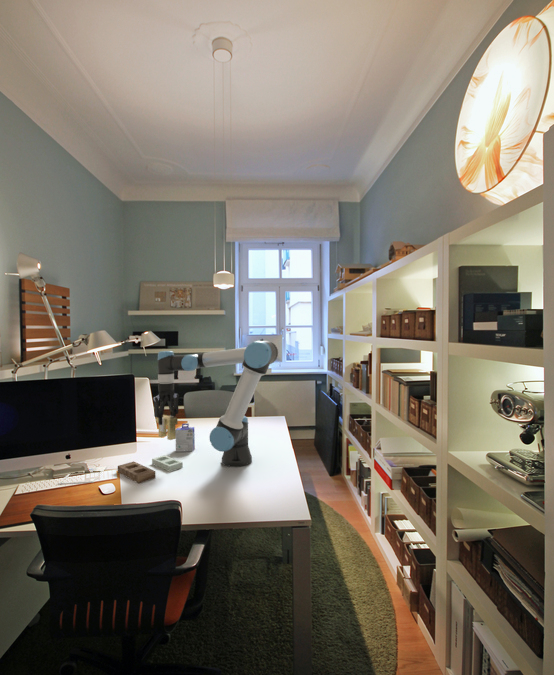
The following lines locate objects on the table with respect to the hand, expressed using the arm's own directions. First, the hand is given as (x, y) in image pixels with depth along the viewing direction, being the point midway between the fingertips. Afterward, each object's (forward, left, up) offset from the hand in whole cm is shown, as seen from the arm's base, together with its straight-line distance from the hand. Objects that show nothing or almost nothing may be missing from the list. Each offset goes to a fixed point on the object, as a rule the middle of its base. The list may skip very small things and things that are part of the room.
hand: (166, 430), depth 181 cm
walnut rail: (0, +16, -17) cm, 24 cm away
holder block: (0, 0, -17) cm, 17 cm away
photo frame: (+18, +32, -18) cm, 41 cm away
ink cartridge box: (+14, -20, -18) cm, 30 cm away
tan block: (0, 0, -4) cm, 4 cm away
